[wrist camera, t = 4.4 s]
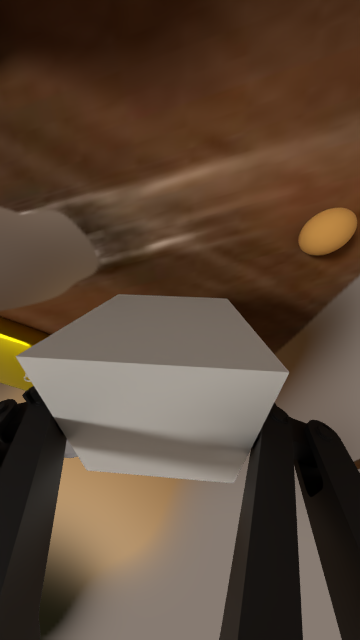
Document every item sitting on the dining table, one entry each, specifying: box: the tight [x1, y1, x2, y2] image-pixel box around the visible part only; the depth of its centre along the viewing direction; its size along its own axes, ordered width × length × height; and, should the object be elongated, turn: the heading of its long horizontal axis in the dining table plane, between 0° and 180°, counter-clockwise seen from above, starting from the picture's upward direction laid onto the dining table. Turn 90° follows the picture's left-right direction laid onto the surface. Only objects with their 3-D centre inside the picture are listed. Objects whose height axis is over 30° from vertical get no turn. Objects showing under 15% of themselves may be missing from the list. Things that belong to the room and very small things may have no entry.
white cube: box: [16, 294, 289, 483], centre depth 11 cm, size 10×10×9 cm
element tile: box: [0, 317, 50, 391], centre depth 30 cm, size 15×15×5 cm
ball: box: [298, 208, 357, 255], centre depth 17 cm, size 5×5×5 cm
